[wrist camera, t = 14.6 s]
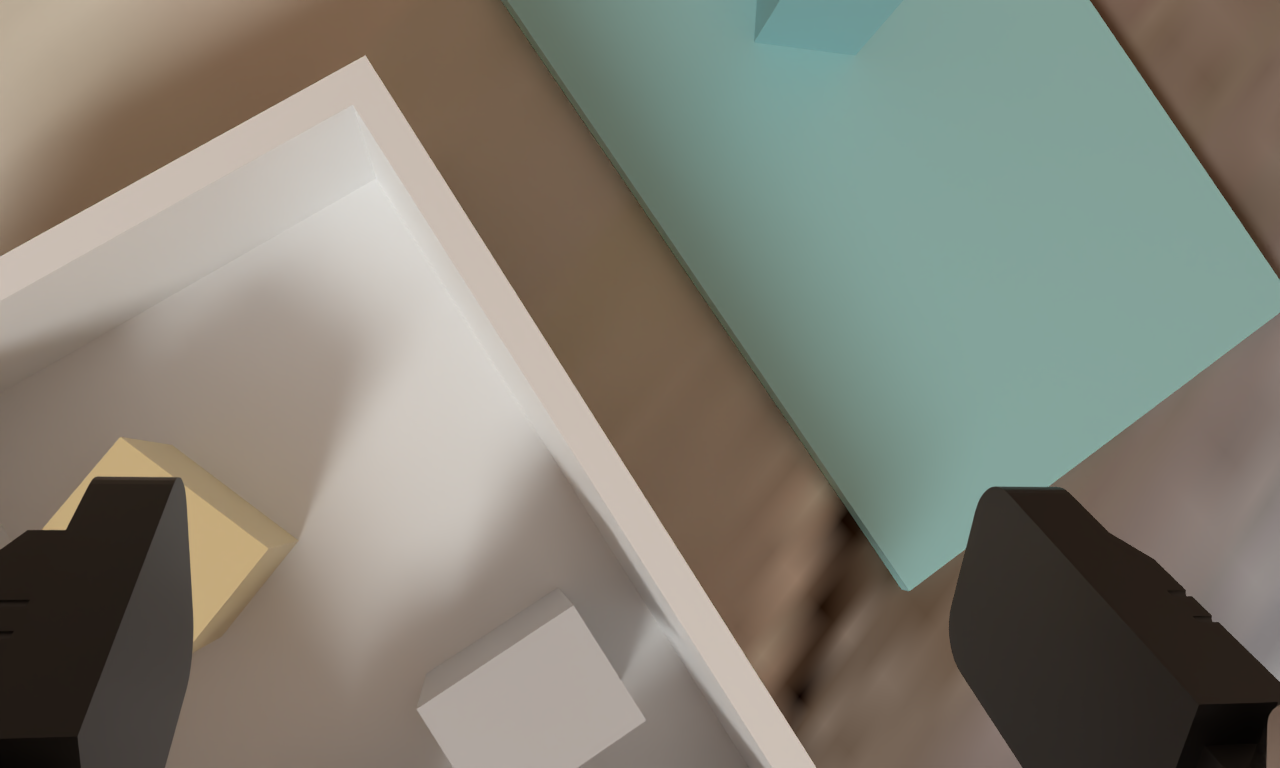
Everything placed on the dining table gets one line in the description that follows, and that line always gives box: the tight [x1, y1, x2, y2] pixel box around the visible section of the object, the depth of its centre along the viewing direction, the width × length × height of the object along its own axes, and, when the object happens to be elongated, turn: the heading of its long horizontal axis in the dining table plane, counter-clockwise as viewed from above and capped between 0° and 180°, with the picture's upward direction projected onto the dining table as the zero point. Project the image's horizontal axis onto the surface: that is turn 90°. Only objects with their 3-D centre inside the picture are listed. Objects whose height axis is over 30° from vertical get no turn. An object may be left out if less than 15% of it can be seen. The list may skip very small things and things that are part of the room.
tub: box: [0, 55, 816, 768], centre depth 28 cm, size 20×14×7 cm
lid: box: [501, 0, 1280, 591], centre depth 29 cm, size 21×15×12 cm
